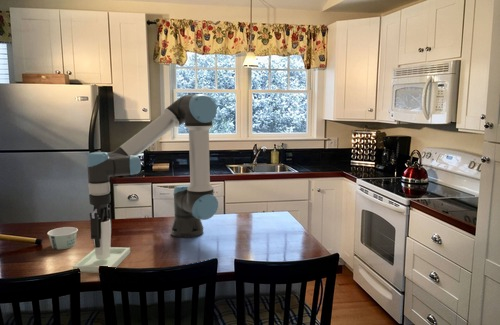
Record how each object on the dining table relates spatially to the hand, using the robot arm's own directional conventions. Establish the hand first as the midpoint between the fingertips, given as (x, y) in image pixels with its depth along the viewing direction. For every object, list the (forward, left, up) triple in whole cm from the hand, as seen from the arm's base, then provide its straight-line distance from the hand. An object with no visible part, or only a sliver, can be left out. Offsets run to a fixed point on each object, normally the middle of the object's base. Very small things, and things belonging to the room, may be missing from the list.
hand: (103, 251), depth 154 cm
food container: (+25, -17, -5) cm, 31 cm away
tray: (0, 0, -4) cm, 4 cm away
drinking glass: (0, 0, -3) cm, 3 cm away
